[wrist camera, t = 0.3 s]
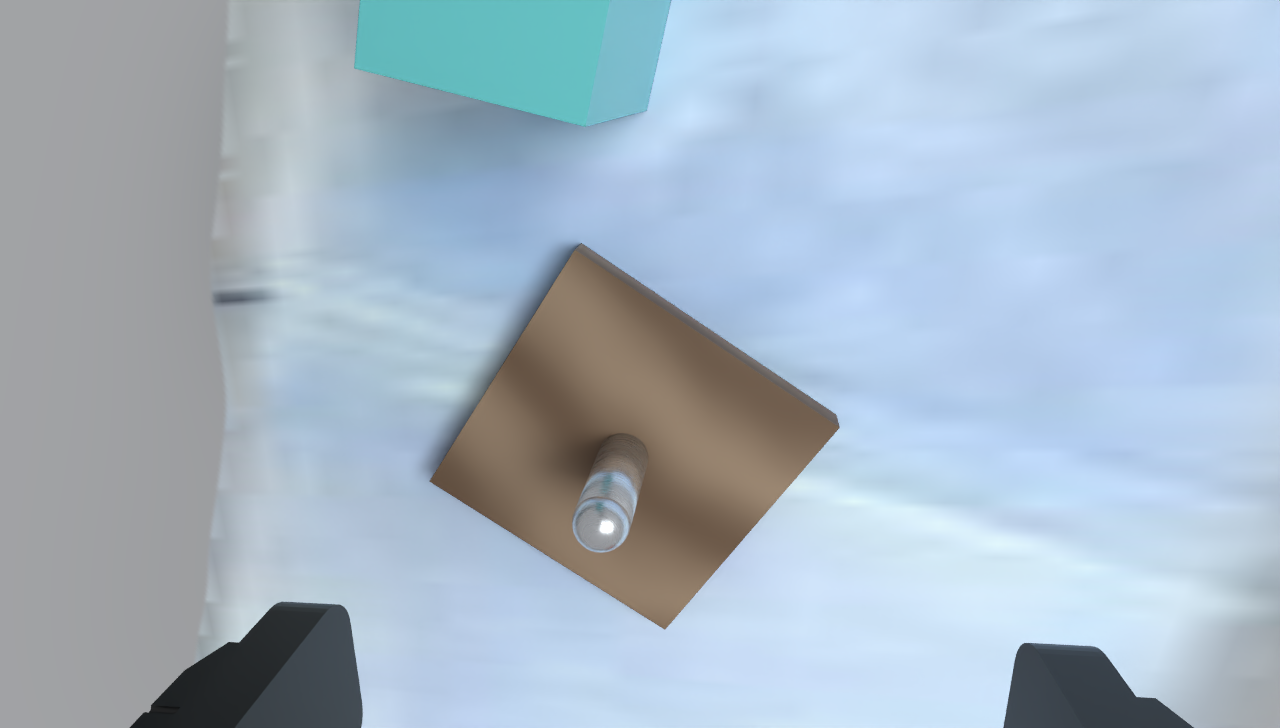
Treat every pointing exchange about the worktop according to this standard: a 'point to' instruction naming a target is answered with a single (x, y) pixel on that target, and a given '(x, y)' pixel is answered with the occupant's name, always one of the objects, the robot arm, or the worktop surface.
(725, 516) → the base plate
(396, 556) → the worktop surface
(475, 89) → the block
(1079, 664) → the robot arm
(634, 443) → the post
